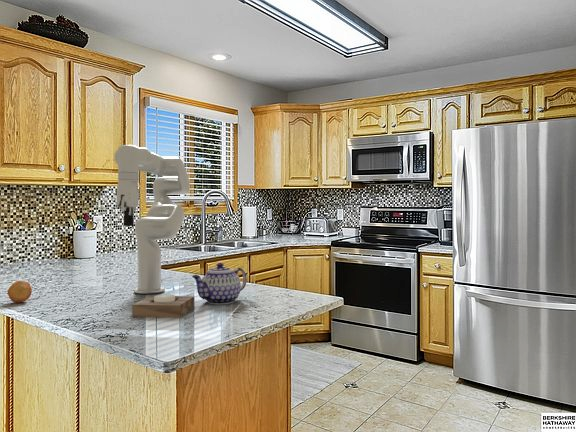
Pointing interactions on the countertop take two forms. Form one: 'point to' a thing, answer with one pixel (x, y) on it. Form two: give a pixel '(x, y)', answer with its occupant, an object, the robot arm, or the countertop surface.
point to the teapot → (220, 285)
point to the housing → (163, 307)
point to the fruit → (19, 291)
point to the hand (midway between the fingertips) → (128, 225)
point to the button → (164, 298)
